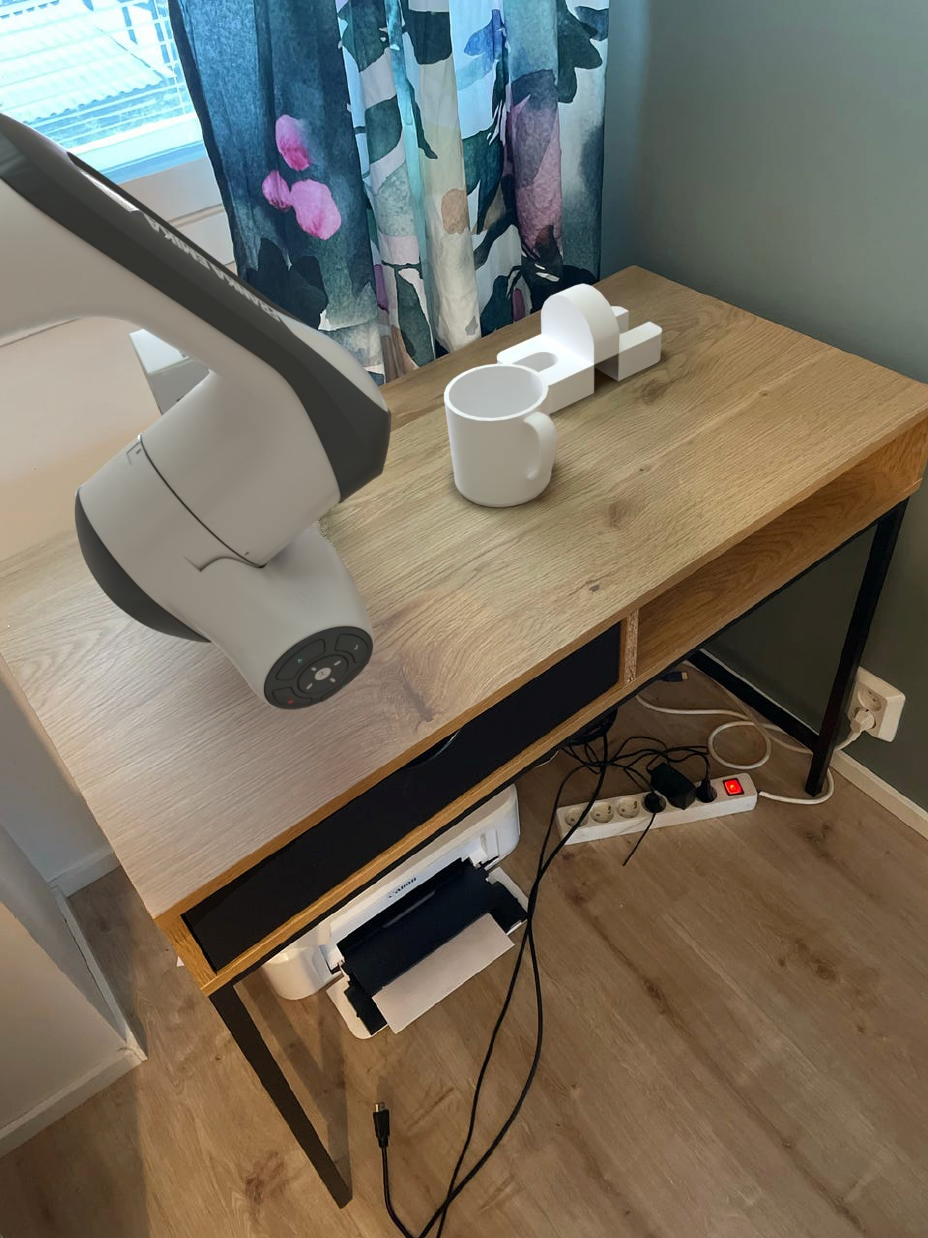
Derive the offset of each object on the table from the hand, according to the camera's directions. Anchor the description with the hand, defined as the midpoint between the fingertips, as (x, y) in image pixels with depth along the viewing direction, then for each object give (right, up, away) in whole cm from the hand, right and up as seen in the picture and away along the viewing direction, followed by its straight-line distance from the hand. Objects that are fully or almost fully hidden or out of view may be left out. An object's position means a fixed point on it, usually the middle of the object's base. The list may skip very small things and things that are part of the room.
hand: (196, 429), depth 71 cm
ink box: (-3, 0, +13) cm, 13 cm away
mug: (+26, -1, +21) cm, 34 cm away
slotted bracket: (+35, +14, +35) cm, 51 cm away
